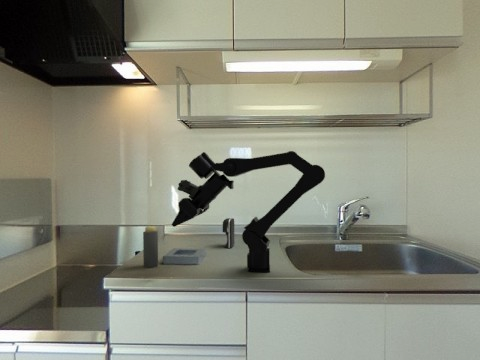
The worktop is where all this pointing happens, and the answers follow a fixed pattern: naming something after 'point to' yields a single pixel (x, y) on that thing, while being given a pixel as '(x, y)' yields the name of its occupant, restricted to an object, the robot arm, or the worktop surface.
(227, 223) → the battery charger
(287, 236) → the worktop surface
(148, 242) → the plug
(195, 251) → the housing
